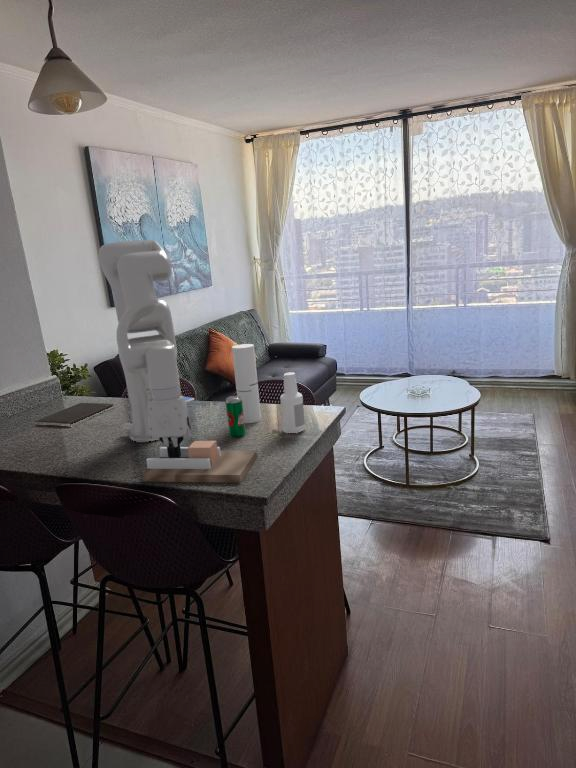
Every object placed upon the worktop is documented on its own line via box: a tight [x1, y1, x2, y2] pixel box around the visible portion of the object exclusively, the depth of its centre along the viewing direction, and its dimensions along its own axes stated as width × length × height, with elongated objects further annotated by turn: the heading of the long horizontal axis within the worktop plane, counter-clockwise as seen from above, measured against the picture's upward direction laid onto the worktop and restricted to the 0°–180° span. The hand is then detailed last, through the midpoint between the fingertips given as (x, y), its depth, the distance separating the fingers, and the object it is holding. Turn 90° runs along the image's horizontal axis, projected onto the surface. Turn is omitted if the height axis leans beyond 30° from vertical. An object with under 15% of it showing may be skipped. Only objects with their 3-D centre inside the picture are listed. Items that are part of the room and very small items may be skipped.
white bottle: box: [279, 371, 306, 435], centre depth 167 cm, size 7×7×18 cm
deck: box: [141, 450, 258, 484], centre depth 145 cm, size 26×16×2 cm, turn 78°
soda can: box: [225, 395, 246, 439], centre depth 168 cm, size 5×5×12 cm
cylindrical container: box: [231, 343, 262, 424], centre depth 180 cm, size 7×7×25 cm
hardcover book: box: [35, 402, 115, 425], centre depth 205 cm, size 16×23×2 cm
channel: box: [146, 446, 221, 469], centre depth 145 cm, size 17×9×2 cm, turn 78°
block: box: [187, 440, 218, 466], centre depth 144 cm, size 6×5×5 cm
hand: (175, 459), depth 146 cm, fingers closed
